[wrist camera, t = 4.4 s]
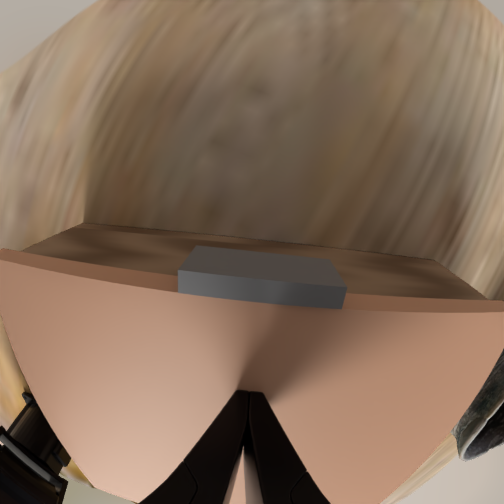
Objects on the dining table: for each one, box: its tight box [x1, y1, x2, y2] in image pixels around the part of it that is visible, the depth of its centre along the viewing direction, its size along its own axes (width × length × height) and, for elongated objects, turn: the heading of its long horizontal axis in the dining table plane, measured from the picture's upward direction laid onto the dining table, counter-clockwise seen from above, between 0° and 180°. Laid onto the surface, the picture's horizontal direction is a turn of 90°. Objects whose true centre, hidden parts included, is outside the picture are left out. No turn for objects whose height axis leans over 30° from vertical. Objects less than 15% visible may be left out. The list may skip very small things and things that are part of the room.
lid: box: [0, 245, 504, 504], centre depth 10 cm, size 20×19×2 cm
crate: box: [21, 223, 488, 300], centre depth 14 cm, size 20×18×6 cm
